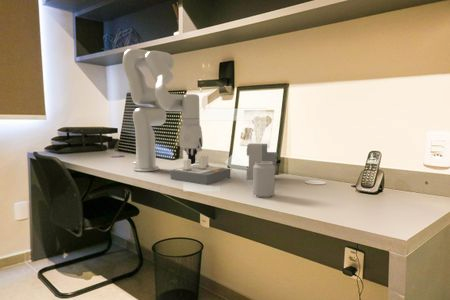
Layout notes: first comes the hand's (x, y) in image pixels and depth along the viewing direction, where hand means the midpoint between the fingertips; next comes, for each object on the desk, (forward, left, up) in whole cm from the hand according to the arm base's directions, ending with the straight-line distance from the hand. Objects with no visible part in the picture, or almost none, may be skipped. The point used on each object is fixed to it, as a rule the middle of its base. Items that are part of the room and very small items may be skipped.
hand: (191, 163), depth 147 cm
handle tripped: (+6, 0, -2) cm, 6 cm away
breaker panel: (+5, 0, -6) cm, 8 cm away
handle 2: (+3, +6, -2) cm, 7 cm away
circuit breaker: (+28, +16, -6) cm, 33 cm away
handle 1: (+3, -6, -2) cm, 7 cm away
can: (+42, -10, -6) cm, 44 cm away
